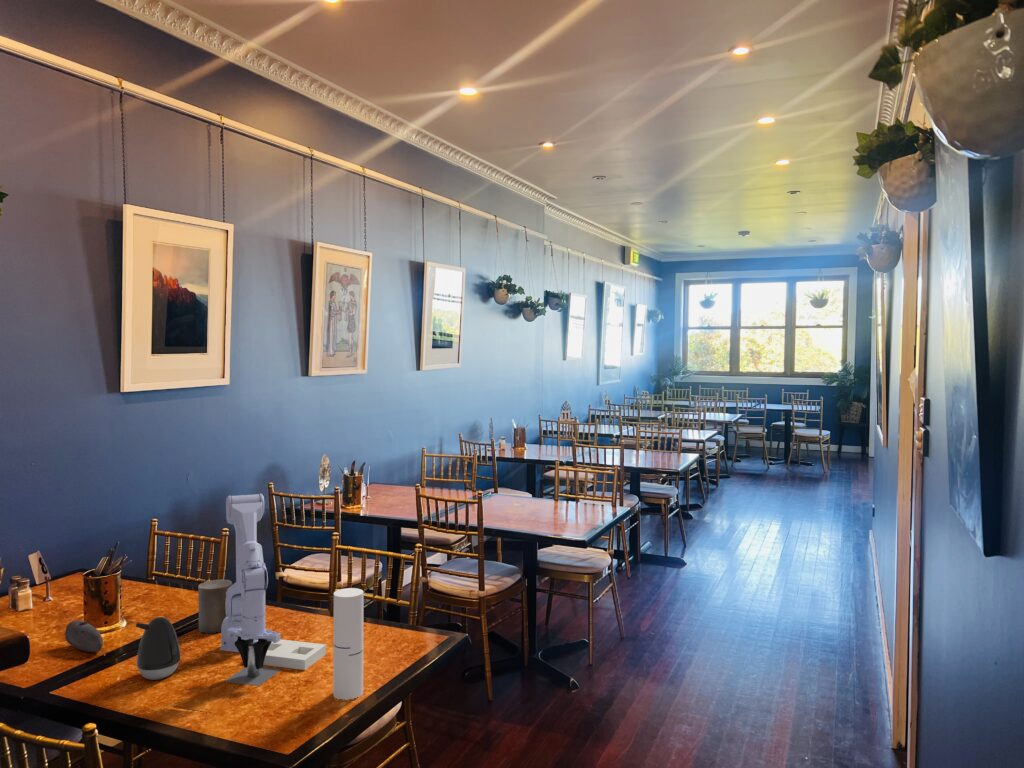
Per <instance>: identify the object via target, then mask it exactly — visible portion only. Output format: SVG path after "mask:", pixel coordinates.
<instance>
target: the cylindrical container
mask: <svg viewBox="0 0 1024 768" xmlns="http://www.w3.org/2000/svg"><path fill="white" fill-rule="evenodd" d="M332 654H333V656H332V657H333V661H332V663H333V665H332V666H333V668H332V669H333V677H332V678H333V679H332V680H333V681H332V683H333V685H332V687H333V688H332V689H333V692H332V693H333V697H334V699H336V698H338V699H337V700H339V699H343V700H342V701H349V700H348V699H352V700H355V699H354V698H356V699H358V698H361V696H363V694H364V590H363V589H360V588H356V587H347V588H340V589H338V590H335V591H334V592H333V653H332ZM357 697H358V698H357ZM344 699H345V700H344Z"/></svg>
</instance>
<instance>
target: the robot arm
mask: <svg viewBox="0 0 1024 768" xmlns="http://www.w3.org/2000/svg"><path fill="white" fill-rule="evenodd" d="M225 513H226V522H227V524H230V525H233V527H234V530H235V567H236V568H235V574H236V575H235V581H236V582H234V583H232V586H231V587H230V588H228V589H227V592H226V602H225V607H226V616H227V617H226V618H225V619H224V620H223V623H222V627H221V632H220V633H221V635H220V643H221V644H220V647H219V650H220V651H226V652H232V653H233V652H235V653H239V655H240V657H241V660H242V665H243V668H246V667H247V645H248V644H249V643H253V642H255V643H254V644H253V648H254V651H255V659H256V669H260V668H261V667H264V665H263V664H264V659H265V656H266V653H267V650H268V648H269V646H270V644H271V642H273V643H277V642H279V641H280V639H281V633H280V632H277V631H273V630H271V629H267V628H266V590H267V588H268V586H269V585H268V584H269V577H268V575H269V574H268V570H267V569H268V568H267V567H266V563H265V562H264V555H263V554H264V552H263V546H262V545H261V544H260V543H258V539H257V538H258V536H257V531H258V530H257V529H258V528H257V527H258V524H257V523H258V522H260V521H261V519H262V518H263V516H264V514H265V497H264V495H263V493H257V494H241V495H228V496H227V497H226V499H225Z"/></svg>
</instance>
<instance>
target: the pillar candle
mask: <svg viewBox="0 0 1024 768" xmlns="http://www.w3.org/2000/svg"><path fill="white" fill-rule="evenodd" d="M232 585H233V582H232V581H231V580H230V579H214V580H208V581H205V582H201V583H200V584H198V587H197V589H198V599H197V600H198V631H199V633H201V632H204V633H203V634H217V633H216V632H218V633H221V627H222V623H223V620H224V619H225V618H226V617H227V616H226V607H225V602H226V592H227V589H228V588H230V587H231V586H232Z"/></svg>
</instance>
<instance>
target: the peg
mask: <svg viewBox="0 0 1024 768" xmlns="http://www.w3.org/2000/svg"><path fill="white" fill-rule="evenodd" d="M254 643H255V642H253V643H249V644H248V645H247V677H249V678H254V677H258V676H259V675H260V669H256V659H255V651H254V648H253V644H254Z"/></svg>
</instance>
